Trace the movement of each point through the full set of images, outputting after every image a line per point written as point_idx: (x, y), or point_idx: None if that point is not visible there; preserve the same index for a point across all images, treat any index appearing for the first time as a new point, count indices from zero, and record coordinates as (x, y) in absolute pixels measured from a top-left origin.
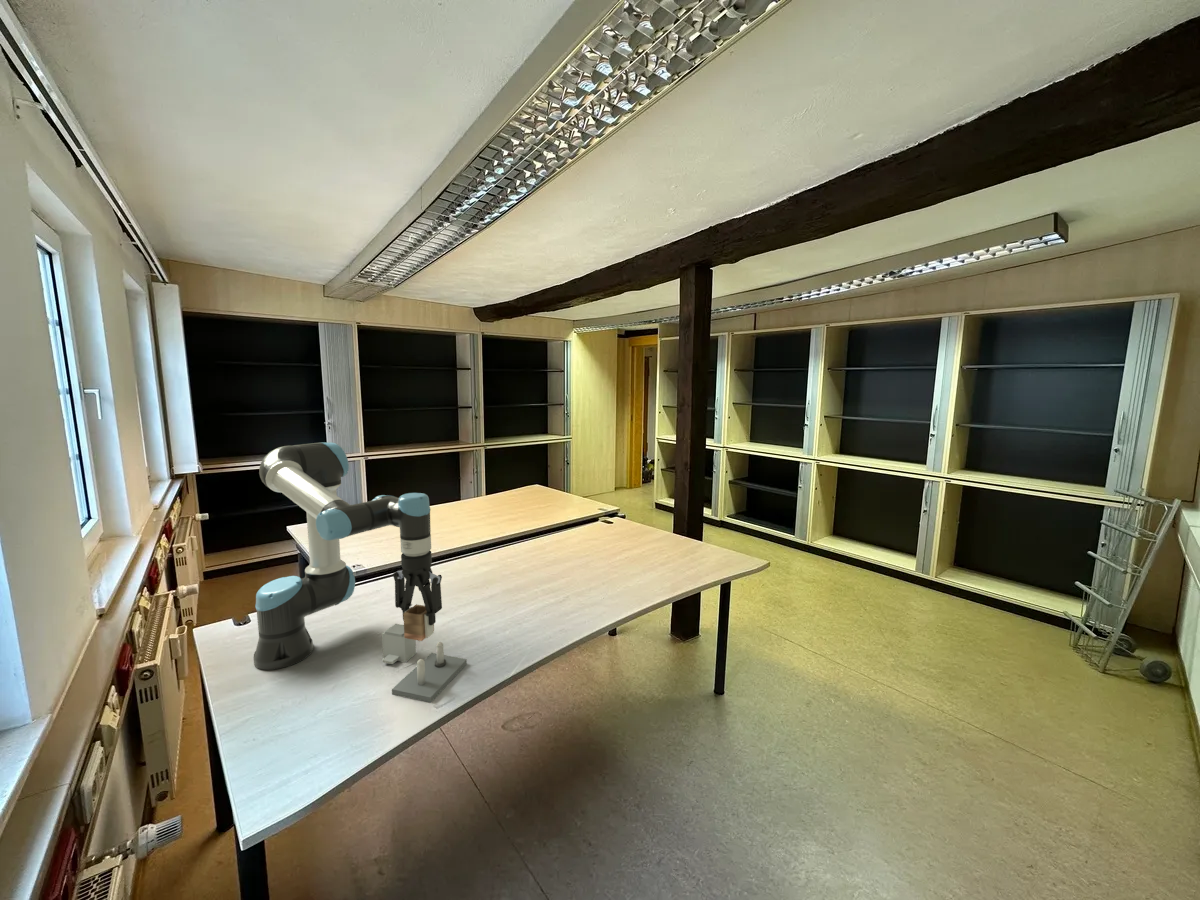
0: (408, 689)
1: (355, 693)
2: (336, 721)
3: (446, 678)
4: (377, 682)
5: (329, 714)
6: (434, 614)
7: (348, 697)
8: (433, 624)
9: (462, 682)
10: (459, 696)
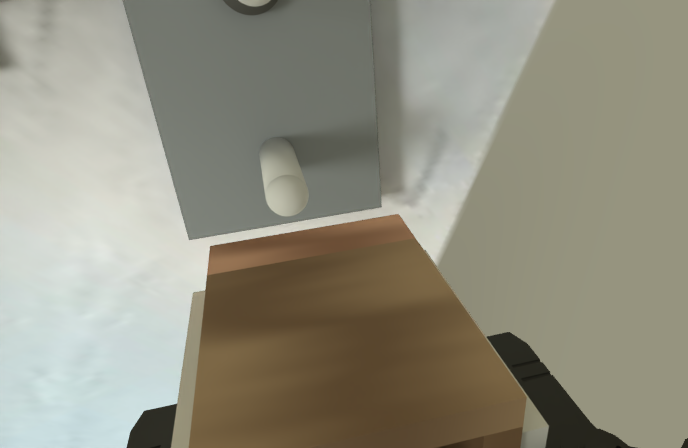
0: (258, 210)
1: (37, 284)
2: (140, 387)
3: (365, 77)
4: (43, 197)
5: (81, 382)
6: (580, 426)
7: (39, 309)
8: (421, 253)
9: (420, 29)
10: (457, 117)
